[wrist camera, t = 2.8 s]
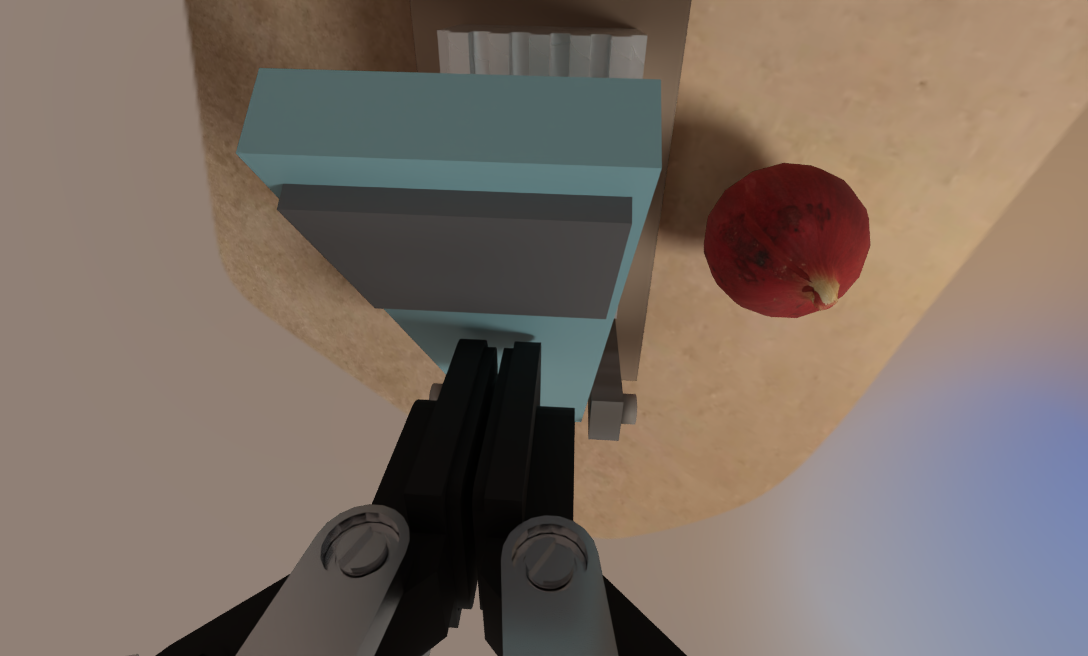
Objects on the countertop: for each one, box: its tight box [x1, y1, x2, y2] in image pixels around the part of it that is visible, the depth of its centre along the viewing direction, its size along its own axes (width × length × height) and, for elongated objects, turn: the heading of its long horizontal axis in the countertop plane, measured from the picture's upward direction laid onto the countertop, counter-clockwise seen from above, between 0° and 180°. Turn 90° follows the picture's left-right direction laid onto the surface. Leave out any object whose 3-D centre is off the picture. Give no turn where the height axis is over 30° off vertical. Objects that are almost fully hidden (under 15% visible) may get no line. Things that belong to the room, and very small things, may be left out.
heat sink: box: [437, 24, 647, 319], centre depth 20 cm, size 10×6×4 cm, turn 179°
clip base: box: [410, 0, 691, 441], centre depth 19 cm, size 23×10×10 cm, turn 179°
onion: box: [704, 163, 870, 318], centre depth 20 cm, size 6×6×8 cm
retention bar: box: [236, 68, 662, 422], centre depth 14 cm, size 18×4×1 cm
